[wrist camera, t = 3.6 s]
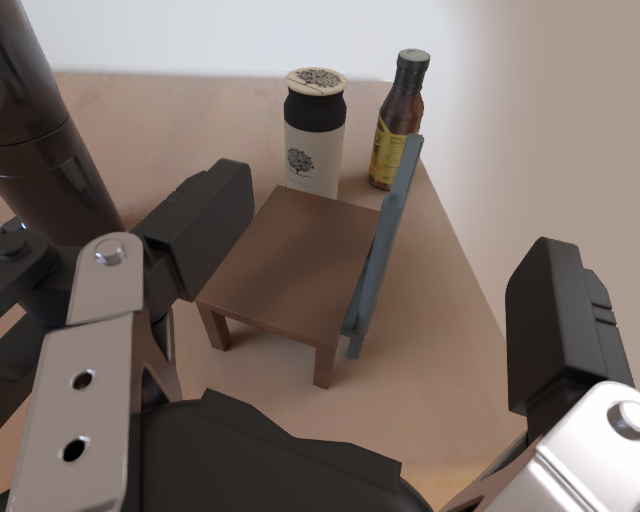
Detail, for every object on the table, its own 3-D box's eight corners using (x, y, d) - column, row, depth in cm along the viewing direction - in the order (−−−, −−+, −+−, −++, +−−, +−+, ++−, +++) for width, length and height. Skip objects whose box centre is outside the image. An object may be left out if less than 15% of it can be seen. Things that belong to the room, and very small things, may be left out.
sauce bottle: (372, 166, 62) (396, 40, 47) (407, 175, 61) (443, 48, 46) (362, 187, 58) (384, 56, 43) (399, 197, 56) (435, 65, 42)
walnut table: (212, 347, 37) (193, 298, 31) (280, 237, 49) (277, 184, 42) (327, 389, 35) (334, 346, 28) (370, 263, 47) (382, 211, 40)
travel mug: (313, 176, 59) (317, 61, 46) (347, 199, 55) (363, 81, 42) (276, 195, 55) (269, 75, 42) (310, 221, 51) (314, 99, 38)
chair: (271, 330, 39) (255, 172, 23) (303, 267, 45) (307, 109, 30) (358, 361, 37) (403, 210, 22) (379, 290, 43) (425, 134, 28)
